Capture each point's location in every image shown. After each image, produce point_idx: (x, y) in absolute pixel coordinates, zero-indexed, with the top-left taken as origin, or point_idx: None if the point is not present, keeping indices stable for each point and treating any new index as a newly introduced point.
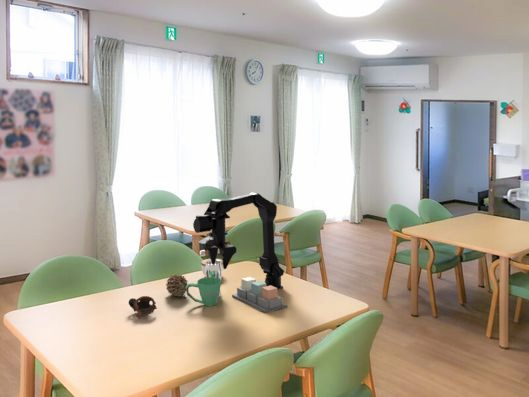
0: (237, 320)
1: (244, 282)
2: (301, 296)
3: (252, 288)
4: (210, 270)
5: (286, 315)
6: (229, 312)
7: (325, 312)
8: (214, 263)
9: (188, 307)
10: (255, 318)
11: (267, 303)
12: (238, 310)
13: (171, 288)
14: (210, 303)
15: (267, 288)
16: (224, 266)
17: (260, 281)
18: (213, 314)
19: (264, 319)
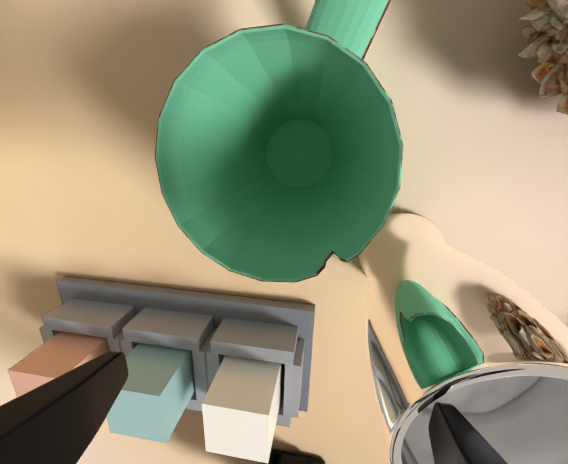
0: (36, 136)
1: (236, 394)
2: (154, 457)
3: (165, 369)
4: (424, 310)
5: (19, 312)
6: (138, 166)
7: (3, 401)
8: (430, 430)
9: None
10: (30, 211)
11: (51, 314)
12: (141, 214)
13: None
14: (258, 134)
15: (36, 385)
16: (66, 378)
17: (156, 438)
18: (153, 80)
19: (10, 231)
